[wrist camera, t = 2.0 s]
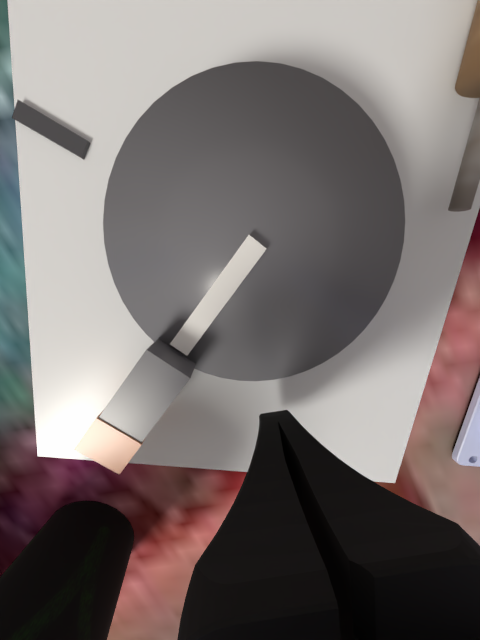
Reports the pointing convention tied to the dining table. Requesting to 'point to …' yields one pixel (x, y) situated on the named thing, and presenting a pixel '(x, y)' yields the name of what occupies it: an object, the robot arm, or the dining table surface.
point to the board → (96, 165)
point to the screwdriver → (473, 82)
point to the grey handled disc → (244, 236)
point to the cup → (67, 576)
